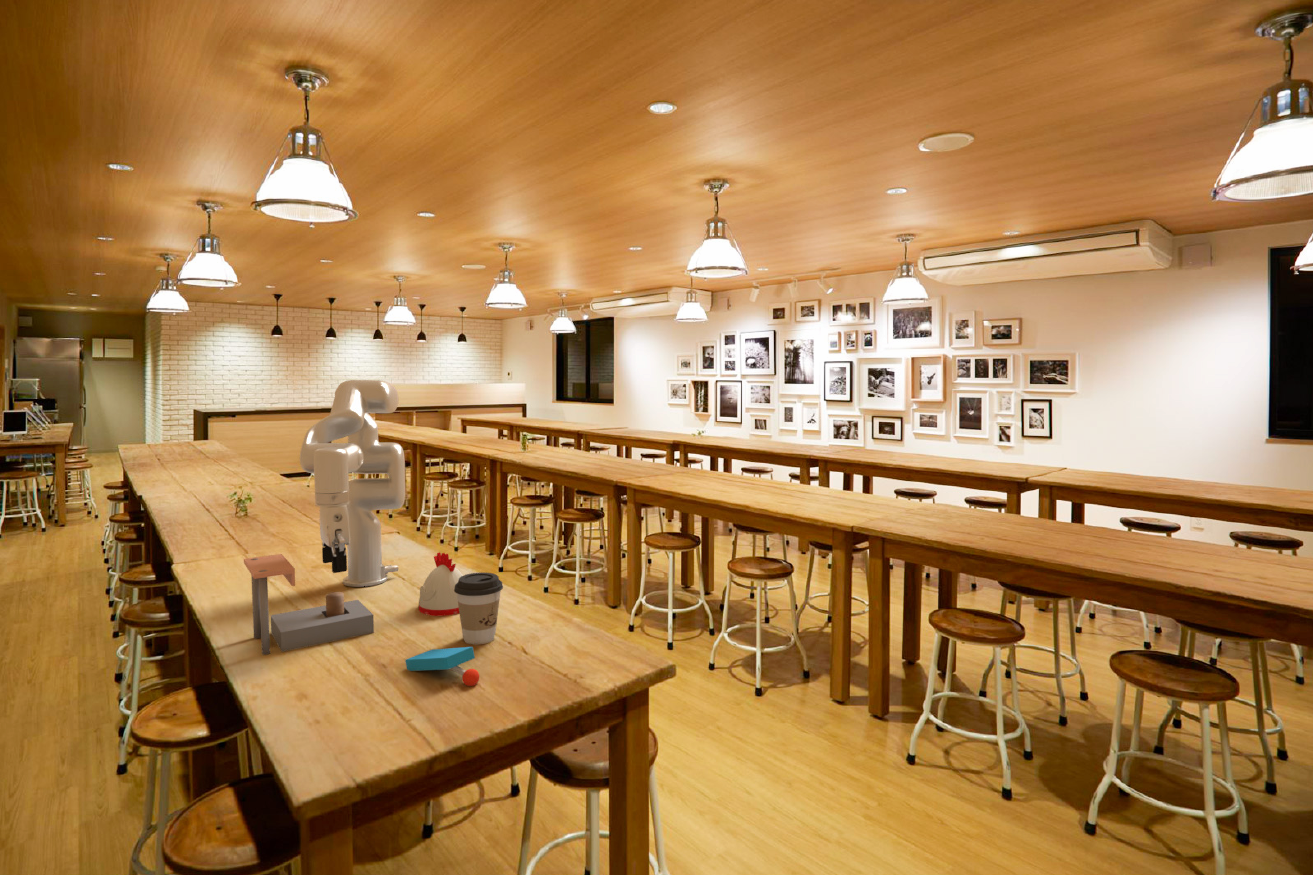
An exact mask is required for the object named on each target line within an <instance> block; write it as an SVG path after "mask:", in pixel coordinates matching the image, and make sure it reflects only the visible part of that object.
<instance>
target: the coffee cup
mask: <svg viewBox="0 0 1313 875" xmlns="http://www.w3.org/2000/svg"><path fill="white" fill-rule="evenodd" d="M499 577H500V576H498V575H497V574H495V573H491V572H483V571H482V572H473V573H467V574H463V576H461V577H460V578H459V581H458V583H457V584H455V589H454V591H455V592H456V593H457V600H458V607H459V613H458V614H459V618H460V626H461V634H462V638H463V641H464V642H465V643H466V644H468V645H476V646H477V645H484V644H488V643H490V642H492V641H494V640H495V636H496V633H497V623H498V614H499V607H500V598H501V591H502V590H503V589H504V586H503V581H501V580H500V578H499Z"/></svg>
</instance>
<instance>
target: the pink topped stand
mask: <svg viewBox="0 0 1313 875" xmlns="http://www.w3.org/2000/svg"><path fill="white" fill-rule="evenodd" d="M243 563H244V565H245V567H246V568H247V571H248V572H249V573H250V575H251V598H252V600H251V601H252V621H253V622H252V624H253V625H252V626H253V627H252V628H253V639H261V640H260V641H261V655H263V656H267V655H270V654H271V647H270V646H271V643H270V641H271V640H270V618H269V617H270V615H269V614H270V613H269V590H268V588H269V587H268V578H269V577H275V576H282V575H283V577H284V578H285V579H286V580H287V582H288V583H289V584H290V586H292V587H296V574H295V573H296V572H295V567H294V566H293V565H292V564H291V563H290V562H289V560H288V559H287V558H286V557H285V556H284V555H283V554H282V553H277V554H270V555H262V556H256V557H247V558H243Z"/></svg>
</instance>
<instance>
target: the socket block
mask: <svg viewBox="0 0 1313 875" xmlns="http://www.w3.org/2000/svg"><path fill="white" fill-rule="evenodd" d="M374 624H375V622H374V614H373V612H371V611H370V610H369V609H368V607H366V606H365V605H364V604H363V602H361V601H360V600H359V599H354V600H348V601H344V615H338V616H333V617H328V618H326V604H325V605H321V606H320V605H319V606H314V607H310V608H303V609H299V610H297V609H296V610H293V611H287V612H282V613H276V614H271V615H270V633H271V634H270V635H272V638H273V639H274V640H275V643H276V645H277V646H278V647H279V650H280V651H281V652H288V651H292V650H296V649H302V648H306V647H311V646H316V645H321V644H325V643H330V642H331V643H332V642H335V641H340V640H344V639H349V638H355V637H359V636H363V635H369V634H374V632H375V630H374V629H375V628H374Z"/></svg>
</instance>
